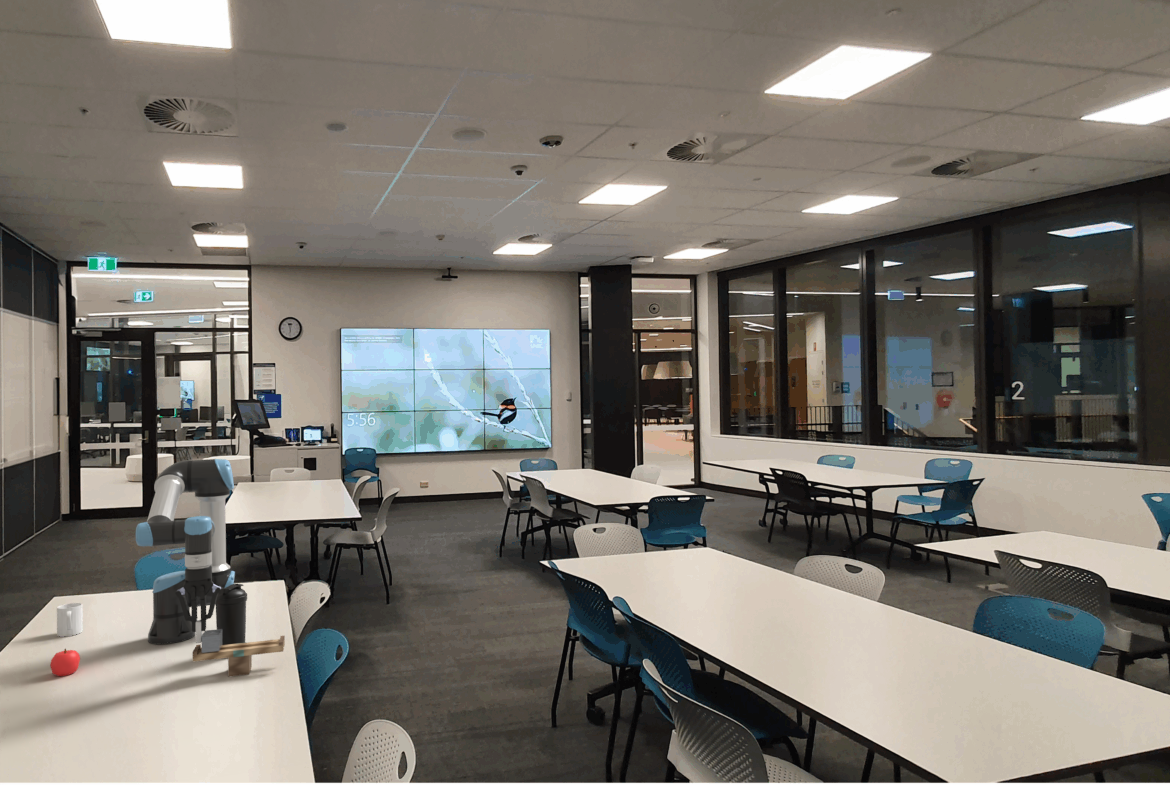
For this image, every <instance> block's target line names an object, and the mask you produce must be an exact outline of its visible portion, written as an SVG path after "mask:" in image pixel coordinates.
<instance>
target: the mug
mask: <svg viewBox="0 0 1170 785" xmlns="http://www.w3.org/2000/svg"><path fill="white" fill-rule="evenodd" d="M83 612H84V611H83V603H81V602H71V603H65V604H62V605H58V606H57V607H56V635H57V637H59V636H60V638H64V636H69V637H73V636H72V635H74V636H77V635H76V634H78V635H80V634H82V633H83V624H84V621H83V619H84V618H83ZM81 632H82V633H81ZM79 633H80V634H79Z"/></svg>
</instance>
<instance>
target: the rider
mask: <svg viewBox="0 0 1170 785" xmlns="http://www.w3.org/2000/svg"><path fill="white" fill-rule="evenodd" d="M201 647H202V653H205V652H215V651H220V649H221V647H222V629H217V628H216V629H208V630H207V629H206V630H205V631H203V635H202V642H201Z"/></svg>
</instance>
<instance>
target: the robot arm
mask: <svg viewBox="0 0 1170 785" xmlns="http://www.w3.org/2000/svg"><path fill="white" fill-rule="evenodd" d="M231 465H232V464H231V462H230V461H229V460H228V459H225V458H224V459H223V458H211V459H192V460H191V459H190V460H189V459H188V460H185V459H184V460H181V461H177V462H175V463H172V464H171V465H169V466H168V467H166V468H165V469H164V470H162V471H161V472H160V474H159V475H158V476H157V477H156V479H155V481H154V492H155V493H154V496H153V499H152V503H151V507H150V510H149V513H148V517H147V520H146V521H144V522H139V523H137V525H136V527H135V543H136V545H137V546H138V547H150V548H151V547H155V546H156V547H157V546H158V547H159V546H167V545H168V546H169V545H181V544H183V545H184V567H185V569H184V570H179V571H178V570H177V571H174V572H170V573H166V574H162V575H160V576H159V577H156V579H155V580H154V581H153V586H152V595H153V596H152V600H153V603H152V604H153V605H152V607H153V610H152V612H153V613H152V614H153V617H152V618H153V619H152V622H151V625H150V628H149V630H148V633H147V642H148V643H149V644H154V645H165V644H166V645H168V644H175V643H179V642H183V641H187V640H190V639H192V638H194V637H195V644H200V643H201V644H202V635H203V633H204V632H205V631H207V620H209V619H211V618H212V617H213V615H214V612H215V611H214V610H215V608H216V605H215V603H216V599H217V595H218V593H219V591H220V590H221V588H226V587H228V586H230V585H231V584H235V582H234V581H235V576H236V571H234V570H231V565H230V564H228V563H227V539H226V538H227V533H226V530H227V529H226V523H227V522H226V499H227V498H229V496H230V494H231V493H230V491H233V490H234V489H235V485H234V483H235V482H234V475H233V471H232V470H233V469H232V466H231ZM193 492H194V497H195V498H196V499H197V500H198V501H199V515H197V516H190V517H188V518H185V519H181V520H180V519H179V520H175V517H176V512H177V507H178V504H179V500H180V497H181V495H183V493H193ZM207 606H209V608H208V612H207ZM198 607H200V619H198ZM190 608H191V609H190ZM190 610H191V612H190Z"/></svg>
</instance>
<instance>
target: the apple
mask: <svg viewBox="0 0 1170 785" xmlns="http://www.w3.org/2000/svg"><path fill="white" fill-rule="evenodd" d="M80 661H81V656H80V653H79V652H77V650H74V649H69V650H67V648H64V650H61V651H58V652H56V653H55V654H54V655H53V657H52V658H51V659H50V669H51V673H52V674H53V675H54V676H58V677H65V676H70V675H73V674H74V673H75V672H76V671H77V670H78V669H79V666H80Z"/></svg>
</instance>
